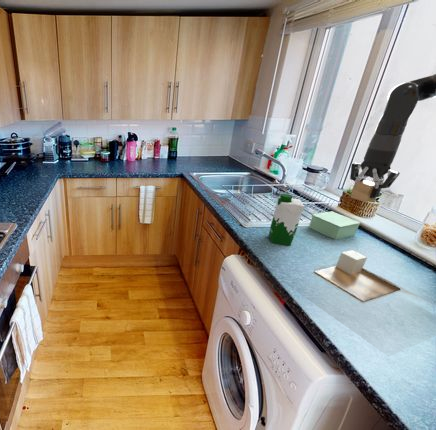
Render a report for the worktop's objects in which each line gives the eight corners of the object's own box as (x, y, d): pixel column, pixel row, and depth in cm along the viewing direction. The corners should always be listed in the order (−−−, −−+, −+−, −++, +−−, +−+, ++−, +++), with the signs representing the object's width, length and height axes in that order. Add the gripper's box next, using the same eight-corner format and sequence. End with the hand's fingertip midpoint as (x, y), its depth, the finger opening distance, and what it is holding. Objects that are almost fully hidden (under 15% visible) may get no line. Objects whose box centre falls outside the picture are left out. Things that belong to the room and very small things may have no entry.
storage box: (325, 226, 133) (331, 211, 130) (354, 239, 123) (361, 222, 119) (306, 230, 129) (311, 214, 126) (333, 244, 119) (340, 226, 115)
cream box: (346, 263, 105) (352, 249, 102) (360, 271, 100) (367, 257, 98) (335, 266, 103) (341, 252, 100) (350, 274, 99) (356, 260, 96)
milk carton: (266, 234, 125) (278, 191, 117) (289, 237, 123) (303, 194, 115) (269, 243, 118) (282, 198, 110) (293, 247, 115) (308, 201, 107)
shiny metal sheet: (348, 263, 106) (349, 262, 106) (400, 289, 92) (400, 288, 92) (313, 272, 100) (314, 271, 100) (363, 302, 87) (363, 301, 87)
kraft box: (360, 195, 107) (366, 180, 104) (375, 200, 102) (381, 184, 100) (349, 197, 105) (355, 181, 102) (364, 202, 101) (371, 185, 98)
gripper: (416, 151, 91) (393, 201, 98) (367, 143, 103) (350, 188, 110) (400, 152, 89) (379, 203, 96) (352, 144, 101) (336, 190, 108)
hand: (363, 195), depth 103 cm, fingers closed on kraft box, 5 cm apart
